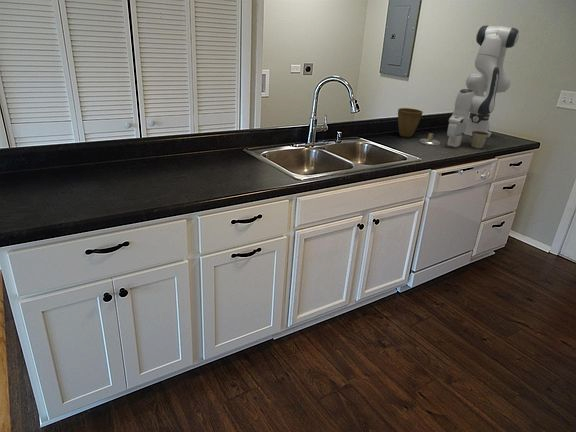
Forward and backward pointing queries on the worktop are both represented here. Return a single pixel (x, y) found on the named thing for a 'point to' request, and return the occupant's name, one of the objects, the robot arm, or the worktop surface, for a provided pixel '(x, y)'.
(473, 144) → the flower pot
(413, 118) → the plant pot
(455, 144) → the knob
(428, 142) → the pot lid
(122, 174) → the worktop surface
